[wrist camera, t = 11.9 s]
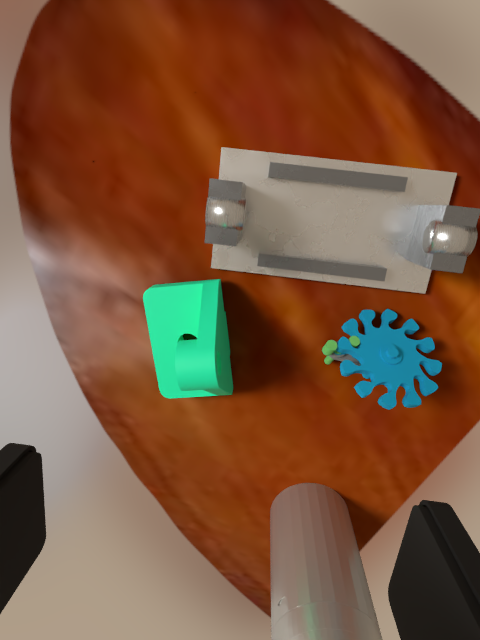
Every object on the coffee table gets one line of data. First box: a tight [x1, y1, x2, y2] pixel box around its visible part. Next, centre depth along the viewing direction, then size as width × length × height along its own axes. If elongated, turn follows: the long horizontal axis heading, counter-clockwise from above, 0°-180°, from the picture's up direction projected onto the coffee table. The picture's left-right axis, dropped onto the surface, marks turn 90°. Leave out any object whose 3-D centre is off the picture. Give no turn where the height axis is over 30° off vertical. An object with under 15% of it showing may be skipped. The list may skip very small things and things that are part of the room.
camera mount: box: [143, 279, 233, 398], centre depth 36 cm, size 12×8×10 cm, turn 6°
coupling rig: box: [205, 147, 480, 294], centre depth 33 cm, size 11×21×7 cm, turn 84°
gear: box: [322, 309, 442, 410], centre depth 37 cm, size 11×6×10 cm
